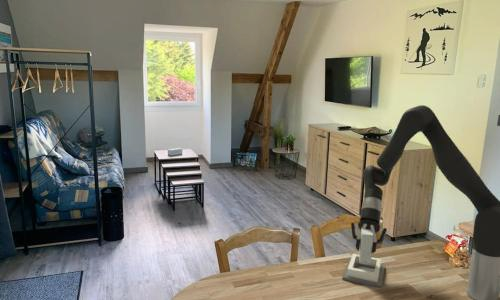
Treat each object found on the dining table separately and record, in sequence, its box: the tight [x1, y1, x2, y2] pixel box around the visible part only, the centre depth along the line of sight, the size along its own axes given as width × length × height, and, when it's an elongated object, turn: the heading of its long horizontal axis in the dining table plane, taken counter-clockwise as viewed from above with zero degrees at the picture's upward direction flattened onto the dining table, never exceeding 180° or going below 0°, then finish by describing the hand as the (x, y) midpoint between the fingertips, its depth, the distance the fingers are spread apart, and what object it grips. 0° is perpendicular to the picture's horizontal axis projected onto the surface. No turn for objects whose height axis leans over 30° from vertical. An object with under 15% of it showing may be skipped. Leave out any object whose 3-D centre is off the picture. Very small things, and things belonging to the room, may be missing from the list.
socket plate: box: [341, 253, 386, 288], centre depth 149 cm, size 14×16×4 cm
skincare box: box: [358, 228, 373, 264], centre depth 149 cm, size 6×4×12 cm
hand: (365, 251), depth 146 cm, fingers closed on skincare box, 4 cm apart
